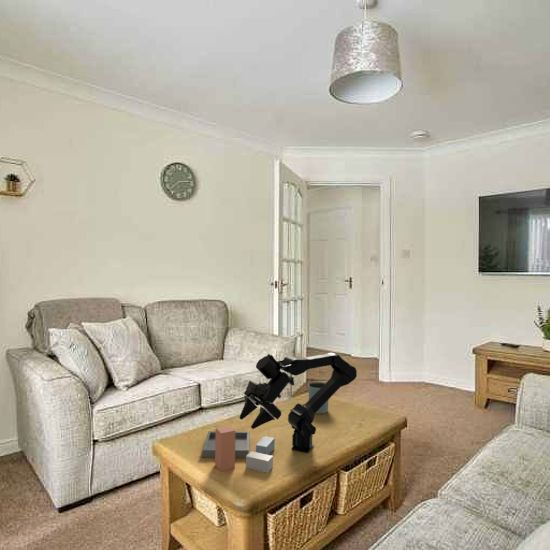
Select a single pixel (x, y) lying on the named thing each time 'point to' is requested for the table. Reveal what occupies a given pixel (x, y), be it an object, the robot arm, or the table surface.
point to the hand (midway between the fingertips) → (245, 423)
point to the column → (225, 448)
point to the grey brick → (259, 461)
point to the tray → (240, 444)
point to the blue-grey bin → (312, 390)
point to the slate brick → (265, 445)
